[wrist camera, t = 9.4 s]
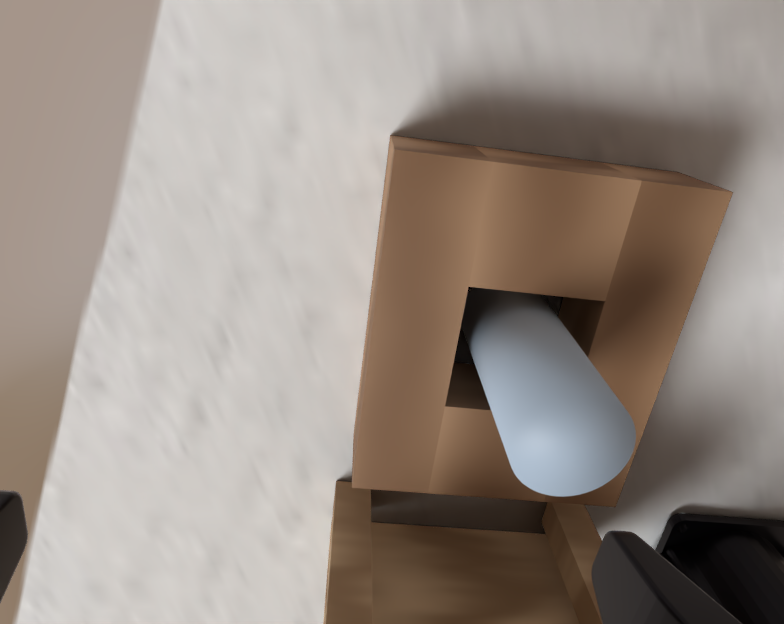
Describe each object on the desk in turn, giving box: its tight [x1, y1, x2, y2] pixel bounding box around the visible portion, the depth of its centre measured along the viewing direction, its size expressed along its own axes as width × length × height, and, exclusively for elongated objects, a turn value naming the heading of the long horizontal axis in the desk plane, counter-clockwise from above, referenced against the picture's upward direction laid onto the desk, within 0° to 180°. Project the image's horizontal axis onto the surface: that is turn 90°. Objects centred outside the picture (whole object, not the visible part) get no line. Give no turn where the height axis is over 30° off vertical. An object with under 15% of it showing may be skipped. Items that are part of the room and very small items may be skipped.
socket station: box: [323, 135, 733, 624], centre depth 18 cm, size 11×18×10 cm, turn 173°
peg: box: [461, 287, 636, 497], centre depth 18 cm, size 3×3×8 cm
